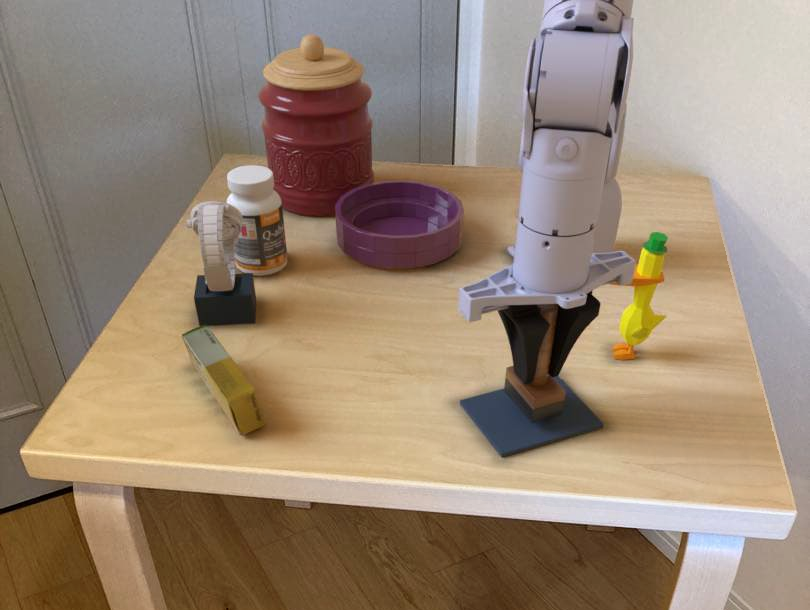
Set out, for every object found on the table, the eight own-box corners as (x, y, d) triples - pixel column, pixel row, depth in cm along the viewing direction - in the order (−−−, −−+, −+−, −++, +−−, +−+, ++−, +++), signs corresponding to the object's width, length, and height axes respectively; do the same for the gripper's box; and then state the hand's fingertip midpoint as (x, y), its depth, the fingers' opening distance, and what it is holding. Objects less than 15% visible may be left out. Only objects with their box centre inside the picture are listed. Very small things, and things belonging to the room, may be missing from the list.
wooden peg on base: (533, 382, 75) (546, 286, 68) (562, 414, 72) (579, 317, 65) (503, 390, 74) (513, 294, 67) (531, 423, 71) (545, 325, 64)
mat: (556, 377, 78) (556, 373, 77) (603, 427, 73) (604, 424, 72) (459, 403, 75) (459, 400, 75) (501, 457, 70) (501, 453, 70)
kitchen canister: (248, 200, 103) (226, 39, 90) (314, 164, 110) (303, 10, 98) (331, 228, 98) (320, 62, 85) (395, 189, 105) (394, 30, 92)
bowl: (429, 205, 102) (430, 172, 99) (482, 257, 93) (485, 223, 90) (320, 226, 98) (317, 192, 95) (364, 283, 89) (363, 248, 86)
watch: (257, 290, 88) (242, 187, 80) (254, 333, 83) (238, 226, 75) (203, 293, 88) (183, 189, 80) (197, 335, 82) (175, 228, 74)
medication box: (192, 368, 79) (179, 332, 76) (218, 358, 79) (207, 322, 76) (239, 437, 71) (227, 400, 68) (268, 425, 72) (257, 388, 69)
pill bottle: (279, 280, 90) (268, 188, 82) (228, 275, 90) (213, 183, 83) (294, 255, 94) (285, 165, 86) (245, 250, 94) (232, 160, 87)
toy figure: (588, 363, 79) (611, 243, 71) (584, 342, 82) (606, 223, 73) (659, 366, 79) (691, 246, 70) (654, 344, 81) (684, 226, 73)
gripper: (494, 263, 56) (480, 422, 66) (673, 223, 60) (635, 379, 70) (449, 218, 61) (442, 374, 71) (618, 184, 65) (590, 336, 75)
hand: (536, 374), depth 71 cm, fingers closed on wooden peg on base, 2 cm apart
